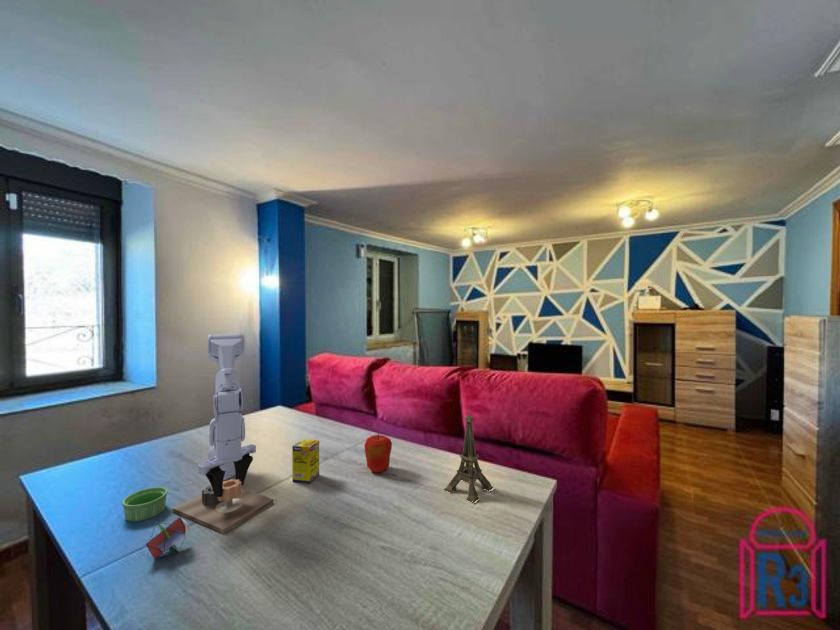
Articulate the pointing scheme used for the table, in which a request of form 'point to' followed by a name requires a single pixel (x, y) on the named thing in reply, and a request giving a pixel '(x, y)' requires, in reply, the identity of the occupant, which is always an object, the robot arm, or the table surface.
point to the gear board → (222, 509)
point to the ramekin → (145, 503)
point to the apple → (378, 453)
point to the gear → (231, 490)
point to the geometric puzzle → (168, 537)
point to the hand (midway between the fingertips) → (229, 490)
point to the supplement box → (305, 460)
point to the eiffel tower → (469, 466)
